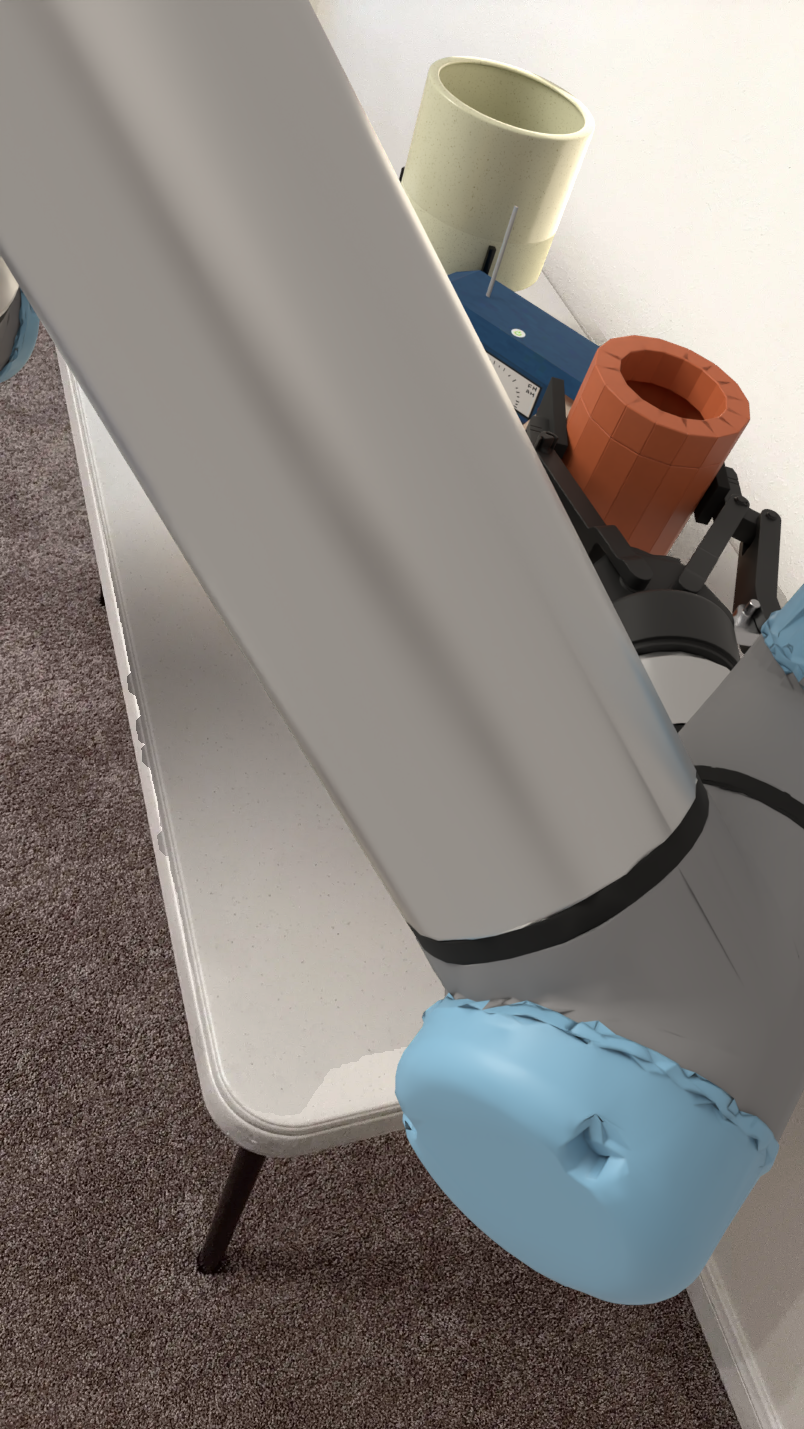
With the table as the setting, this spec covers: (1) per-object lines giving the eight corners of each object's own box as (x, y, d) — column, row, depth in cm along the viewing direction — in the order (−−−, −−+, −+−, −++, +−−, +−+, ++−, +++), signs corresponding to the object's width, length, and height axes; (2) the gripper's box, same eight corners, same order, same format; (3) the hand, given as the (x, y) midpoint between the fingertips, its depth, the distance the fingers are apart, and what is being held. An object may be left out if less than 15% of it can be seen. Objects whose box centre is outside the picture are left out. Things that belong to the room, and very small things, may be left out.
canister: (494, 542, 60) (568, 370, 50) (559, 482, 65) (636, 317, 56) (616, 622, 58) (716, 459, 49) (672, 553, 63) (771, 395, 54)
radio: (375, 400, 93) (429, 185, 78) (431, 373, 98) (492, 166, 83) (549, 524, 87) (643, 318, 72) (599, 488, 93) (696, 289, 77)
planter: (400, 273, 108) (461, 38, 91) (528, 336, 107) (616, 109, 89) (338, 327, 98) (393, 75, 81) (478, 397, 97) (564, 156, 80)
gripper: (412, 702, 46) (435, 424, 61) (827, 793, 50) (756, 508, 64) (458, 590, 41) (472, 313, 55) (924, 702, 44) (822, 412, 58)
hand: (625, 418), depth 59 cm, fingers closed on canister, 9 cm apart
